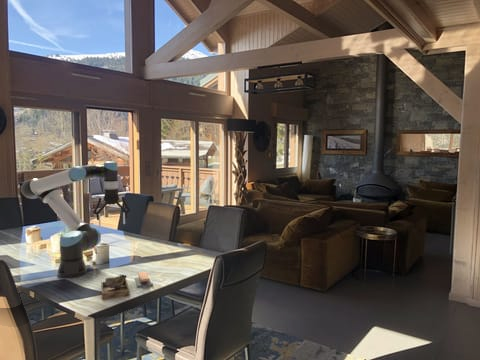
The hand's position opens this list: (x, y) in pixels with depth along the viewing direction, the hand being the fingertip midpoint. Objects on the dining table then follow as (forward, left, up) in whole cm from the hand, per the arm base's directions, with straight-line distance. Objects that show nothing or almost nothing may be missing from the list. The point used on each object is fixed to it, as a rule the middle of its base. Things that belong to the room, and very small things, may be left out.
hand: (112, 224), depth 219 cm
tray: (-1, -35, -27) cm, 44 cm away
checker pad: (+14, -28, -24) cm, 39 cm away
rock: (-1, -31, -25) cm, 40 cm away
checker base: (+14, -28, -27) cm, 41 cm away
